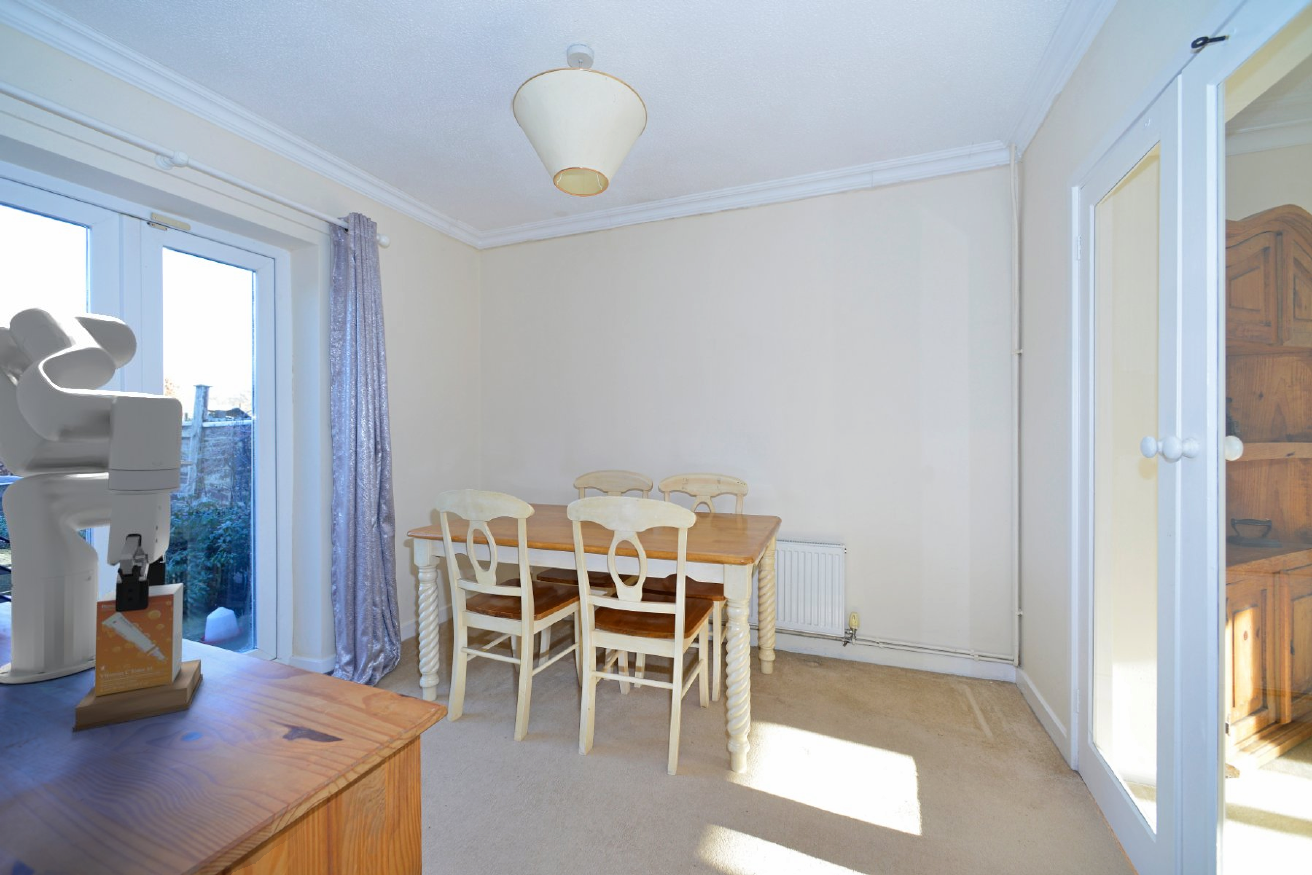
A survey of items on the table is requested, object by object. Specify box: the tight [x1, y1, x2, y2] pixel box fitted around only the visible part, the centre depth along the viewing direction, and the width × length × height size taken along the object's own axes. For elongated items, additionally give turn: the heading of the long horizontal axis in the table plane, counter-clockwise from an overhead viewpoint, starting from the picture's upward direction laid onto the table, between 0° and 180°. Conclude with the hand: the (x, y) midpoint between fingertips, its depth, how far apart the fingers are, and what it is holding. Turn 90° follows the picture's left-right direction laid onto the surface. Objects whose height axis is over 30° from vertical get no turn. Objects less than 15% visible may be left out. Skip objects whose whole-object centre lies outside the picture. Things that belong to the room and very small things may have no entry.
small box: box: [94, 582, 184, 696], centre depth 77 cm, size 8×6×13 cm
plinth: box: [72, 659, 204, 733], centre depth 77 cm, size 11×11×3 cm
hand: (141, 599), depth 78 cm, fingers open, 9 cm apart
